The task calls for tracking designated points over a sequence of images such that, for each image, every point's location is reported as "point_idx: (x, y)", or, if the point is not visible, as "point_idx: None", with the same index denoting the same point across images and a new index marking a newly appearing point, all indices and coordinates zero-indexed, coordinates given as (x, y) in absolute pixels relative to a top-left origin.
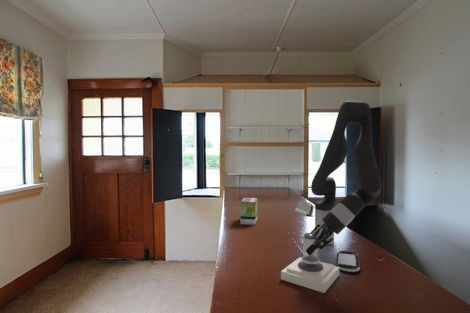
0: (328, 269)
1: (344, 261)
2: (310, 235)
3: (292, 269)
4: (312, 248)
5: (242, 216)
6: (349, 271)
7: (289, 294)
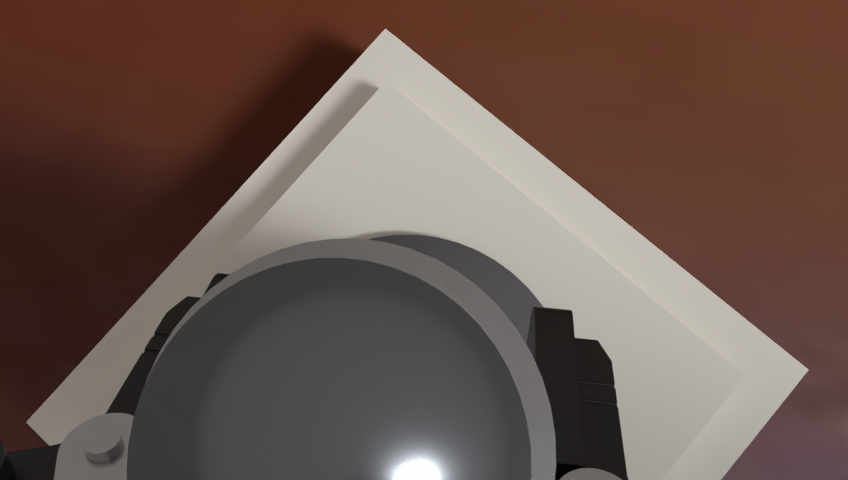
0: None
1: None
2: (247, 429)
3: (342, 142)
4: (130, 386)
5: None
6: None
7: (106, 83)
